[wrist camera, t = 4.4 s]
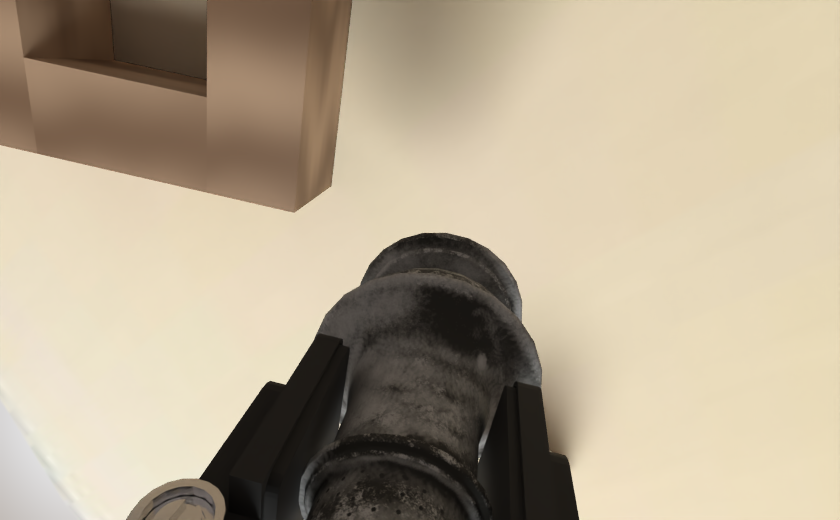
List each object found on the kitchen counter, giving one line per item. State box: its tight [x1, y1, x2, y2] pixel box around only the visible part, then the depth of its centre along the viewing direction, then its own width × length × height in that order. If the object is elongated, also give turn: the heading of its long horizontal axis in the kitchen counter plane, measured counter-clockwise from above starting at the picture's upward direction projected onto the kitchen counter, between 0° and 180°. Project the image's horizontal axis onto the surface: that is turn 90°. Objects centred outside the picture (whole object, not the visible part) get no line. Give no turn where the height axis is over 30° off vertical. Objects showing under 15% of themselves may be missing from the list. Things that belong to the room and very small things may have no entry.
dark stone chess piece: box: [299, 233, 542, 520], centre depth 10 cm, size 6×6×12 cm
